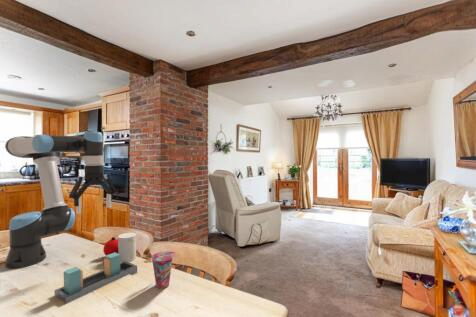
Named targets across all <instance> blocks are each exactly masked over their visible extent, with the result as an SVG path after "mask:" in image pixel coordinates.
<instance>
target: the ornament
mask: <svg viewBox="0 0 476 317" xmlns="http://www.w3.org/2000/svg"><path fill="white" fill-rule="evenodd" d="M102 250H103V254H104V255H105V256H106V255H109V254H112V253H117V254H118V238H116V237H115V236H113V237H111V239H109V240H108V241H107V242H105V243H104V244H103V248H102Z"/></svg>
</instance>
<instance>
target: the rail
mask: <svg viewBox="0 0 476 317" xmlns="http://www.w3.org/2000/svg"><path fill="white" fill-rule="evenodd" d="M137 273H138V265H136V264H133V263H131V262H127V261H124V262H120V272H119V273H117V274H115V275H112V276H110V277H108V278H107V277H106V274H104V269H103V270H100V271H98V272H95V273H93V274H90V275H88V276H85V277H83V287H81V290H79V291H77V292H74V293H72V294H70V295H67V294H66V293H64V286H62V287H58V288H57V289H54V296H55V298H57V299H58V300H60V301H62V302H63V303H64V304H66V305H67V304H69V303H71V302H73V301H75V300H77V299H79V298H82V297H83V296H86V295H89V294H90V293H92V292H94V291H96V290H99V289H101V288H103V287H104V286H105V287H106V286H107V285H110V284H112V283H113V282H116V281H118V280H121V279H123V278H124V277H127V276H128V275H131V276H133V275H135V274H137Z"/></svg>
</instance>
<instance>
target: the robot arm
mask: <svg viewBox="0 0 476 317" xmlns="http://www.w3.org/2000/svg"><path fill="white" fill-rule="evenodd" d="M103 136H104V135H103V133H102V132H99V131H85V132H84V133H83V135H82V136H75V135H73V136H72V135H54V134H36V135H34V136H24V135H23V136H14V137H11V138H9V139H7V141H6V143H5V145H4V146H5V147H4V148H5V150H6V152H7V153H8V154H9V155H10V156H13V157H16V158H22V159H32V162H33V163H34V164H36V166H37V169H38V170H37V171H38V174H39V181H40V188H41V192H42V198H43V204H44V207H43V208H42V209H41V211H36V210H35V211H30V212H25V213H21V214H17V215H15V216H14V217H11V219H10V220H9V227H8V230H9V249H8V250H9V251H8V252H7V255H6V258H5V261H4V266H5V268H7V269H19V268H26V267H29V266H33V265H36V264H38V263H41V262H43V261H44V260H45V259H46V258H47V252H46V249H45V247H44V246H43V243H42V237H45V236H48V235H53V234H57V233H62V232H65V231H69V230H70V229H71V228H73V226H74V224H75V221H76V214H78V215H80V214H81V215H82V199H81V196H82V195H83V194H84V192H86V190H87V189H88V188H89V187H90V186H95V185H96V186H97V185H100V187H101V188H102V189H103V190H105V192H107V193H106V208H109V209H112V201H113V200H114V199H113V198H114V197H113V196H114V194H115V193H117V188H116V187H115V185H114V183H113V181H112V179H111V175H110V173H109V174H106V173H105V174H104V165H103V164H104V139H103V138H104V137H103ZM63 153H83V159H84V163H83V164H84V165H85V166H84V167H83V168H84V170H83V171H84V176H79V175H78V176H76V181H75V183H74V185H73V187H72V189H71V192H70V193H69V194H68V198H69V199H73V206H74V207H76V209H75V210H76V211H74V209H73V208H71V207H70V206H69V204H67V203H66V202H65V200H64V194H63V188H62V184H61V179H60V172H59V168H58V161H59V160H60V158H61V157H62V155H63ZM104 179H105V181H106V183H107V184H106V183H105V181H104ZM83 181H84V182H83ZM82 182H83V184H82ZM81 184H82V186H81ZM75 213H76V214H75Z"/></svg>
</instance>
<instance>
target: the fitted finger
mask: <svg viewBox="0 0 476 317" xmlns="http://www.w3.org/2000/svg"><path fill="white" fill-rule="evenodd" d="M83 272H84V270H83V269H81V268H80V267H77V266H74V267H70V268H68V269H65V270H63V287H64V293H66V294H67V295H70V294H72V293H74V292H77V291H79V290H81V287H83V278H84V277H83V276H84V274H83Z"/></svg>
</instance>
